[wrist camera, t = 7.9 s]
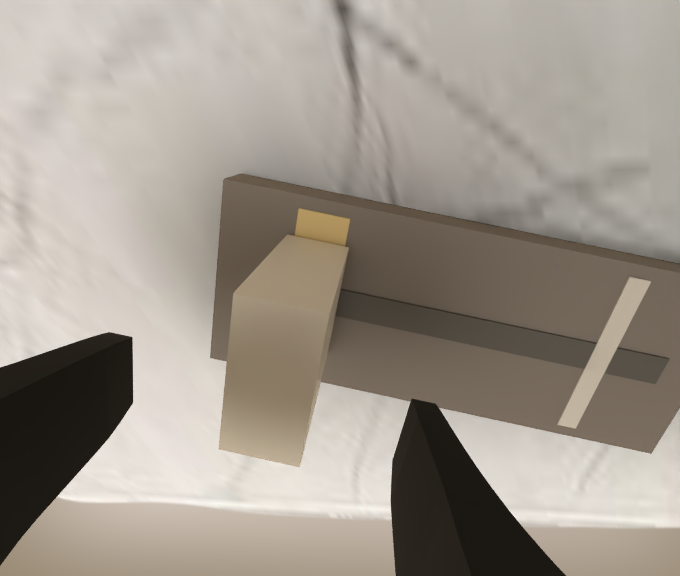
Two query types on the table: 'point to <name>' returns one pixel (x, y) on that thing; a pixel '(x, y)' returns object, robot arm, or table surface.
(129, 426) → the table surface
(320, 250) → the fader tab
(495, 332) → the fader console
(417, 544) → the robot arm
